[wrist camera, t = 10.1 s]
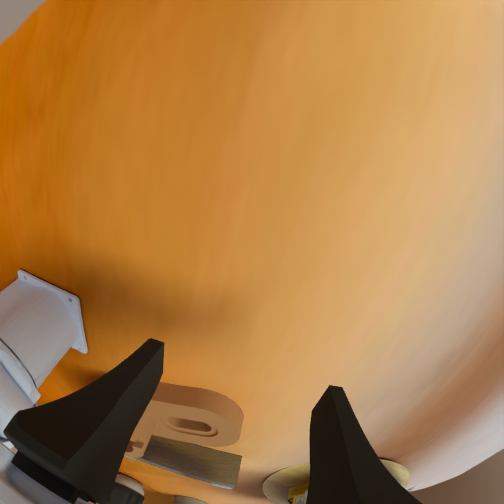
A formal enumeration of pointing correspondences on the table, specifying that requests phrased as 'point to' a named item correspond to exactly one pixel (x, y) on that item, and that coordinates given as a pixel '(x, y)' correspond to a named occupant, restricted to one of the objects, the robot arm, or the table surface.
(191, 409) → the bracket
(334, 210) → the table surface
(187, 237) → the table surface
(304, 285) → the table surface
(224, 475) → the bar
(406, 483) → the stacked boxes on plate
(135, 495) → the grey white egg device
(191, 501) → the thermos bottle
